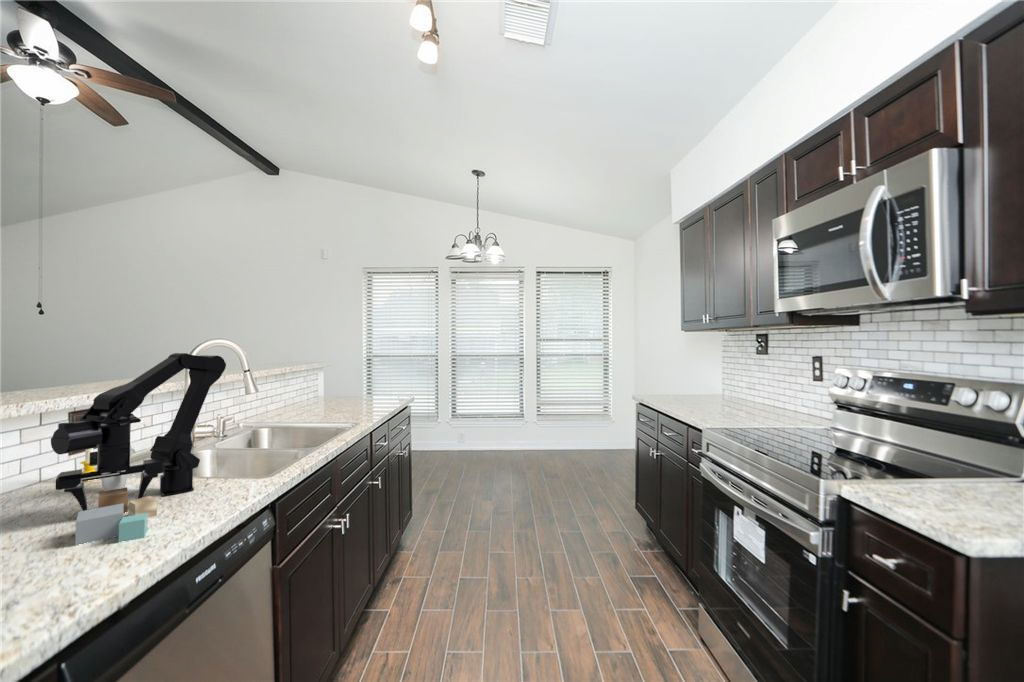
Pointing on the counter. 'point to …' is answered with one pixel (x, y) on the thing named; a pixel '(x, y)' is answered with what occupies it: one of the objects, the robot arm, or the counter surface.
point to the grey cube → (98, 523)
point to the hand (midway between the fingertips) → (113, 508)
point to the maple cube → (143, 506)
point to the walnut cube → (114, 498)
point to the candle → (87, 462)
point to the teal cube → (133, 527)
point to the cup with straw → (115, 479)
